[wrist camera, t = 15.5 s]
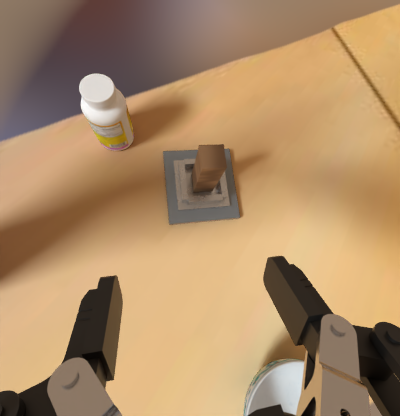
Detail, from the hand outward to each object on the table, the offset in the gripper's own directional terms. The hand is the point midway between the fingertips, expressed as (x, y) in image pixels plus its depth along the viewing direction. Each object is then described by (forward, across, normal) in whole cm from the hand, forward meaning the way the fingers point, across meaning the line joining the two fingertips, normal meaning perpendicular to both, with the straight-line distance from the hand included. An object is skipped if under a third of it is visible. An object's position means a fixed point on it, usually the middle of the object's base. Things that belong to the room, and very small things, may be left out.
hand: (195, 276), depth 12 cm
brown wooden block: (+29, -6, +9) cm, 31 cm away
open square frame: (+30, -6, +9) cm, 32 cm away
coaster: (+31, -6, +10) cm, 33 cm away
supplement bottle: (+39, +9, +2) cm, 40 cm away
